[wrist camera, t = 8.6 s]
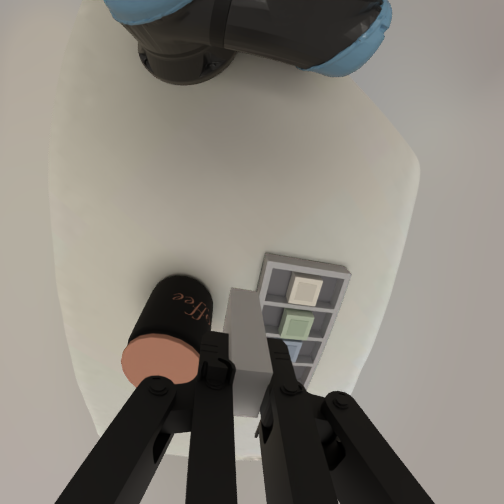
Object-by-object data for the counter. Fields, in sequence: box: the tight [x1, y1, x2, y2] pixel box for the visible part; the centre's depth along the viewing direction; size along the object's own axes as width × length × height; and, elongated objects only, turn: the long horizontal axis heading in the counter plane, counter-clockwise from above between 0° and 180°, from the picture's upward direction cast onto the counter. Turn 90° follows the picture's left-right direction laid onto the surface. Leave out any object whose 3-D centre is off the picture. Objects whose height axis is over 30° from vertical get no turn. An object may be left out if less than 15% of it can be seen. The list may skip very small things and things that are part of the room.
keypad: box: [257, 253, 352, 390], centre depth 50 cm, size 26×14×3 cm, turn 169°
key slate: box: [274, 337, 303, 362], centre depth 50 cm, size 5×5×2 cm
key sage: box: [278, 308, 314, 341], centre depth 47 cm, size 5×5×2 cm
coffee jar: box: [121, 276, 213, 388], centre depth 40 cm, size 11×11×18 cm
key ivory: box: [286, 271, 323, 306], centre depth 46 cm, size 5×5×3 cm
